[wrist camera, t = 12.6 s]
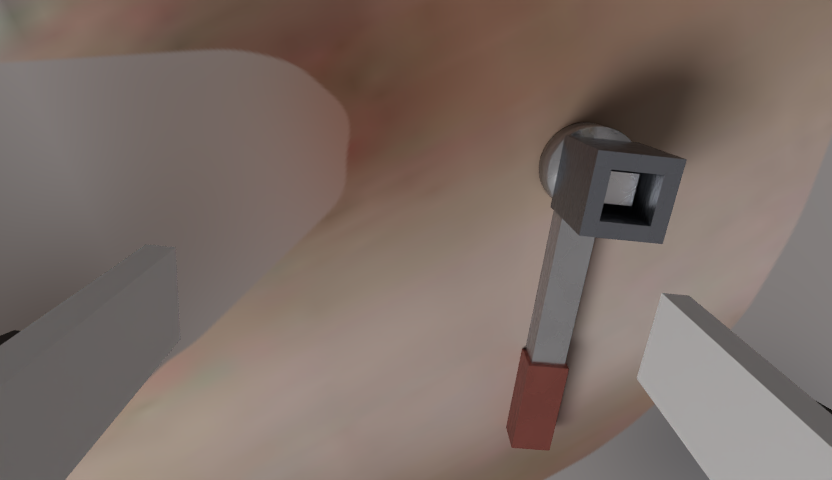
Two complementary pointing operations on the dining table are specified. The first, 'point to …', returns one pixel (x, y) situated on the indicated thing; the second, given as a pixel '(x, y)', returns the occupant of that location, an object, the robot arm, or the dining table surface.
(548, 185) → the ratchet
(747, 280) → the dining table surface
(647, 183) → the socket
